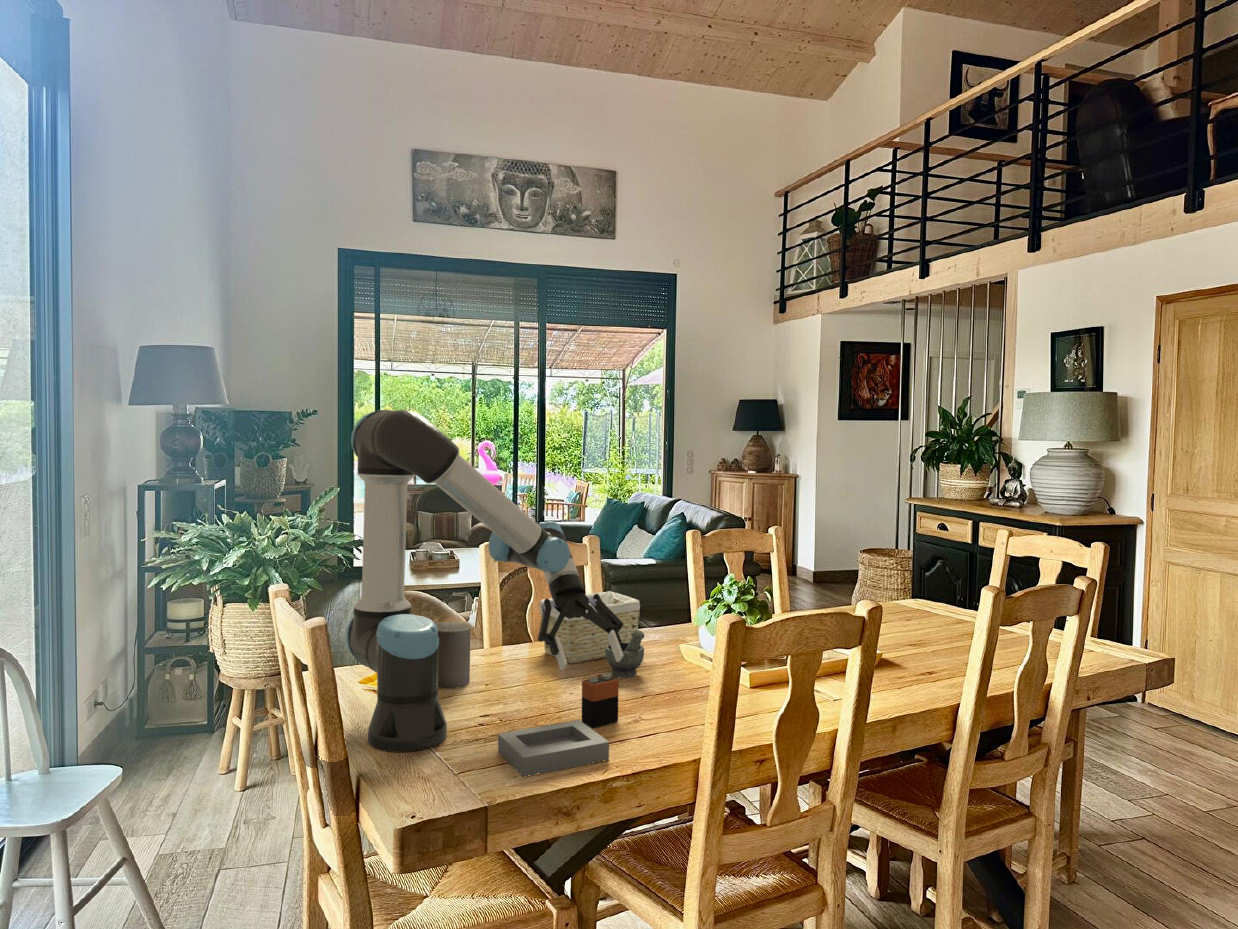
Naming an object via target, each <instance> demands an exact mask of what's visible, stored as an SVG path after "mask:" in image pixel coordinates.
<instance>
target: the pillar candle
mask: <svg viewBox="0 0 1238 929" xmlns="http://www.w3.org/2000/svg"><path fill="white" fill-rule="evenodd" d="M435 624H436V626H437V629H438V637H439V646H438V689H444V688H445V689H446V688H447V690H448V689H449V688H450V689H457V688H456V687H459V688H462V687H465V686H467V685H469V684H470V681H471V679H470V677H471V676H470V674H471V673H470V672H471V669H470V668H471V631H472V630H471V628H472V626H471V625H470V624H468V623H465V622H461V621H451V620H448V621H442V622H437V623H435ZM468 683H469V684H468Z"/></svg>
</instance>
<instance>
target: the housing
mask: <svg viewBox="0 0 1238 929" xmlns="http://www.w3.org/2000/svg"><path fill="white" fill-rule="evenodd" d="M497 738H498V739H497V752H498V753H499V754H500V755H501V756H502V758H504V759H505V760H506V761H507V762H508V764H509V765H511V767H513V768H514V769H515V770H516V771H517V772H518V773H519V774H520V773H521V774H522V775H523V776H527V777H529V776H528V775H532V776H535V775H534V774H537V773H543V774H547V773H551V772H552V771H553V772H556V770H558V771H560V769H563V770H566V769H565V768H568V769H570V768H569V767H573V768H577V766H578V767H581V766H580V765H583V766H585V765H584V764H588V763H592V762H598V761H603V760H608V761H610V740H609V741H608V740H607V739H606V738H605V737H603V736H602V735H601V734H599V733H598V732H596V731H595V730H593V729H592V727H590V726H588V725H586V724H584V723H583V722H582V720H580V719H576V720H570V721H565V722H558V723H554V724H553V723H552V724H548V725H541V726H536V727H528V728H522V729H517V730H511V731H506V732H500V733H497ZM603 762H604V761H603ZM598 763H599V762H598ZM588 765H589V764H588ZM521 774H520V775H521ZM522 775H521V776H522ZM523 776H522V777H523Z"/></svg>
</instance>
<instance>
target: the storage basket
mask: <svg viewBox="0 0 1238 929" xmlns="http://www.w3.org/2000/svg"><path fill="white" fill-rule="evenodd" d="M595 594H598V595H599V596H600V598H601V600H602V602H603V603H604V604H605V605H606V606H607V607H608V608H609V609H610V610H611V611H612V612H613V613H614V614H615V615H616V616H617V617H618V618H619V619H620V621H621V622H622V623H623V627H622V628H621V630H620V631H619V632H618V633H619V636H620V639H621V642H628V643H629V642H630V641H631V639H632V637H633V635H634V634H633V633H634V631H635V630H639V629H638V628H639V619H640V609H641V603H640V600H639V599H636V598H632V597H630V596H628V595H623V594H621V593H618V592H613V591H611V590H609V591H605V592H604V591H602V592H593V593H585V595H586V596H587V597H593V596H594V595H595ZM545 599H546V598H542V599H540V600H539V613H540V615H541V616H540V617H541V618H542V616H543V611H542V605H543V603H544V601H545ZM548 599H549V600H550V601H553V599H552V597H551V598H548ZM588 604H589V605H590V606H591V604H590V603H588ZM593 608H594V607H593ZM594 610H595V608H594ZM595 611H596V610H595ZM585 612H586V613H588V610H586V611H585ZM596 612H597V611H596ZM559 614H560V612H559V611H557V610H556V609H555V608H554V607H553V609H552V610H551V613H550V618H549V623H548V628H547V633H548V634H550V632H551V630H552V628H553V626H554V624H555V622H556V620H557V618H558V616H559ZM607 636H608V633H607V632H606V631H604V630H603V629H601V628H600V627H599V626H597V625H596V624H594V623H593V622H592V621H590V620H589V619H585V618H584V617H582V616H581V618H575V617H574V618H572V619H568V618H567V617H564V619H563V621H562V623H561V625H560V627H559V629H558V631H557V633H556V635H555V637H554V638H556V637H559V639H560V642H561V645H562V648H563V651H564V654H565V657H566V660H567V662H568V664H577V663H576V662H579V663H582V662H588V661H594V660H598V659H603V658H606V654H605V646H606V645H609V644H610V643H609V641H608V638H607ZM543 643H544V651H545V653H546V654H547V655H549V656H553V657H554V658H556V655H552V654H551V651H550V648H549V645H546V644H545V641H543Z"/></svg>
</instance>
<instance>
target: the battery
mask: <svg viewBox="0 0 1238 929" xmlns="http://www.w3.org/2000/svg"><path fill="white" fill-rule="evenodd" d="M581 722H583V723H584V724H585V725H587V726H588V727H589V728H591V729H592V728H593V729H595V728H596V729H597V728H599V727H603V726H608V725H610V724H611V725H612V724H615V723H617V722H619V679H616V677H615V678H614V677H613V675H612V673H611V672H603V673H601V675H600V676H590V677H589V678H588V679H583V680H582V681H581ZM607 724H608V725H607Z"/></svg>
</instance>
